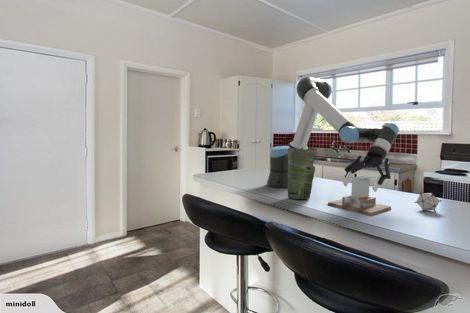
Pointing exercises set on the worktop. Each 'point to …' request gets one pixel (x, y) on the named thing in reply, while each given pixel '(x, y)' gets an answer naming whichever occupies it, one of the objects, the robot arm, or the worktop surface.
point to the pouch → (300, 172)
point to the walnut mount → (360, 205)
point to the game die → (427, 201)
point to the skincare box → (360, 188)
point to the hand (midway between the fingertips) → (358, 187)
